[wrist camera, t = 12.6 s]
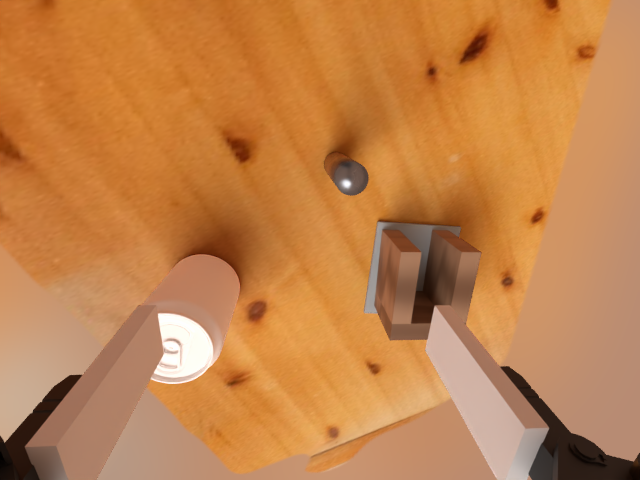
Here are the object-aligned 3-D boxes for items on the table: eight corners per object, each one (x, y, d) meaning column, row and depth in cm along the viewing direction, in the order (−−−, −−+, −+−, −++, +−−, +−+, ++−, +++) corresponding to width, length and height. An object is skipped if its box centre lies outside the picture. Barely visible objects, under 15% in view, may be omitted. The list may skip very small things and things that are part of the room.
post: (325, 151, 34) (337, 160, 25) (349, 153, 34) (370, 163, 25) (322, 175, 35) (334, 194, 25) (346, 177, 35) (365, 196, 26)
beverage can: (246, 260, 37) (226, 317, 26) (234, 318, 40) (211, 394, 29) (175, 245, 36) (121, 299, 25) (167, 306, 39) (115, 380, 27)
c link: (435, 304, 41) (462, 338, 34) (374, 305, 40) (389, 340, 34) (448, 230, 38) (481, 252, 31) (382, 229, 37) (401, 252, 30)
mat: (377, 221, 37) (378, 222, 37) (459, 226, 38) (461, 227, 38) (363, 311, 41) (364, 312, 41) (438, 313, 42) (439, 315, 42)
